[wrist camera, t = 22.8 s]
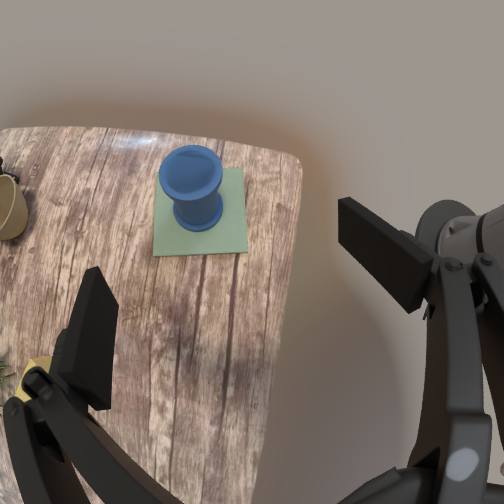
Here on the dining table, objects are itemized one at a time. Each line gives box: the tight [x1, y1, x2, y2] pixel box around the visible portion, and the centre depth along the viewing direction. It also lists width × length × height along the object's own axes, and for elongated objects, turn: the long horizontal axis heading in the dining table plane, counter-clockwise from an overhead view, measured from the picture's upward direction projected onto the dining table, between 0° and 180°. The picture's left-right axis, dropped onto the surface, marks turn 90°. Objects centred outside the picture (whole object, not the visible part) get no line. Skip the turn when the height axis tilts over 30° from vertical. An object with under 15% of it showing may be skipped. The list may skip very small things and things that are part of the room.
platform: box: [14, 356, 52, 402], centre depth 27 cm, size 8×8×5 cm
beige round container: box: [0, 174, 29, 241], centre depth 31 cm, size 10×10×7 cm
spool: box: [159, 145, 223, 232], centre depth 32 cm, size 6×6×10 cm
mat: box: [153, 168, 248, 257], centre depth 37 cm, size 12×12×1 cm
